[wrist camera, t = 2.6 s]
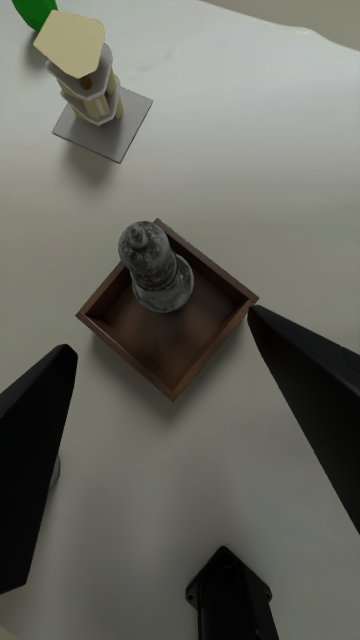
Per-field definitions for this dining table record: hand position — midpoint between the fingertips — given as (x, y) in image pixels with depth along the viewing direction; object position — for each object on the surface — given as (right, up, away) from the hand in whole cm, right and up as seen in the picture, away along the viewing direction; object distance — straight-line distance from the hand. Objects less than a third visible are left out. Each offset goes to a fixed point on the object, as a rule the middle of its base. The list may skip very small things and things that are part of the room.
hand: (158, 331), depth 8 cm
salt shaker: (0, +4, +11) cm, 12 cm away
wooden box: (0, +2, +11) cm, 11 cm away
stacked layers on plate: (-9, +26, +13) cm, 30 cm away
